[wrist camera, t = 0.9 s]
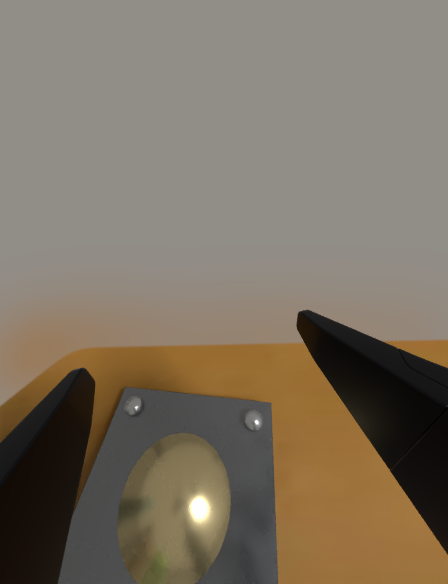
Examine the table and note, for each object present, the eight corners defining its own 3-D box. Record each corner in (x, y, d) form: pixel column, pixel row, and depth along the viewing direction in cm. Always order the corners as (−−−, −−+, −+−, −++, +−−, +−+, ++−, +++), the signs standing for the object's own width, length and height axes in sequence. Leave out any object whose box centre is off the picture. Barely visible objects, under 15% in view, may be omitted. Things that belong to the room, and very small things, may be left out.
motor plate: (279, 716, 11) (286, 753, 10) (30, 649, 13) (1, 672, 11) (269, 406, 21) (272, 401, 20) (131, 391, 23) (123, 384, 21)
